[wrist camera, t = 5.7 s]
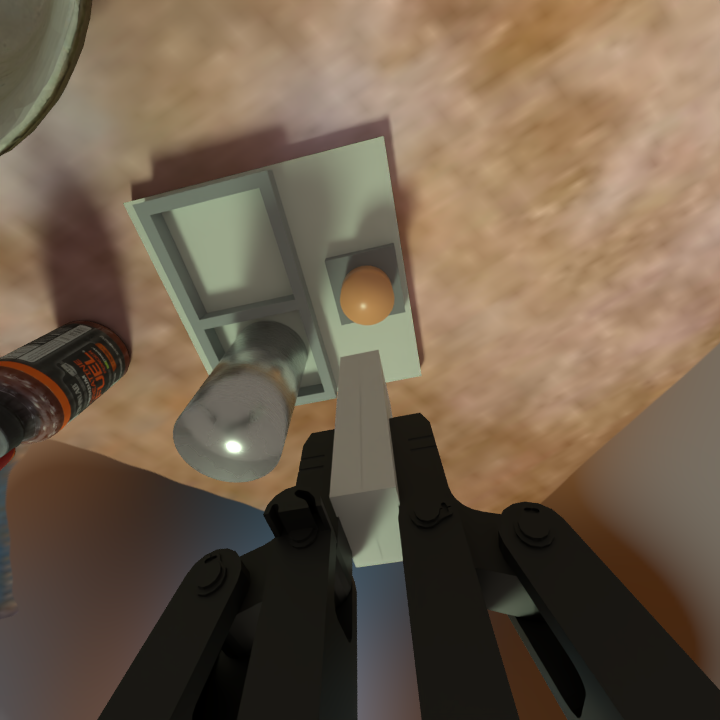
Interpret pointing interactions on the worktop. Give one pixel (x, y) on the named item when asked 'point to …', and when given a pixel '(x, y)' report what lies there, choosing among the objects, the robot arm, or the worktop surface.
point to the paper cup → (6, 458)
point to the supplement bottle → (56, 380)
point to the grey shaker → (244, 405)
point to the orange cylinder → (367, 295)
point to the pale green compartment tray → (285, 258)
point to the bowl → (36, 60)
